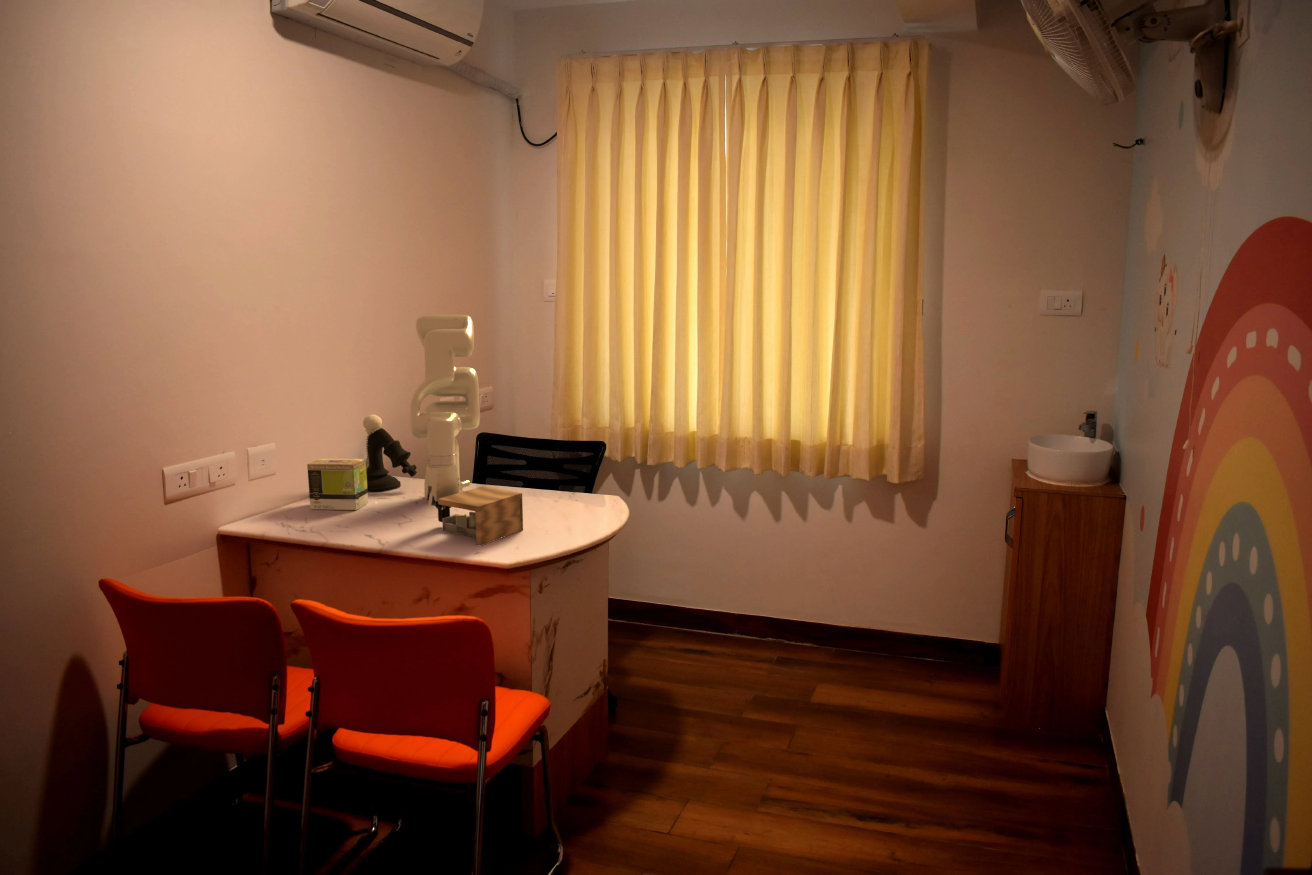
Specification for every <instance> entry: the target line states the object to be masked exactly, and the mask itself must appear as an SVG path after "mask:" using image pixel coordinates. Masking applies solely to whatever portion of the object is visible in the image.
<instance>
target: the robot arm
mask: <svg viewBox="0 0 1312 875" xmlns="http://www.w3.org/2000/svg"><path fill="white" fill-rule="evenodd" d="M474 327H475V326H474V322H473V319H472V318H471V317H470V315H467V314H427V315H421V316H419V317H417V319H416V321H415V330H416V332H417V336H418V339H419V340H420V342H421V344H422V346H423V348H424V352H423V353H424V380H423V381H422V383H421V384H419V385H418V387H417V388H416V390H415V391H414V393H413V394H412V398H411V400H410V406H409V407H410V409H409V410H410V430H411V434H412V435H413V436H414V437H415V438H417V439H427V457H428V458H427V462H428V465H426V469H425V474H424V490H423V491H424V499H425V500H428V506H433V507H435V509H437V519H438V522H439V523H442V518H446V517H449V516H451V508H452V507H450V506H445V505H440V504H438V499H440V498H443V497H447V496H450V495H454V494H457V493H461V492H464V491H465V490H463V488H466V487H469V486H470V485H471V482H470V480H469V479H467V480H464V481H463V480H461V479H460V454H459V450H460V448H459V442H458V440H457V438H456V437H457V436H458V435H459V433H460V432H461V431H462V430H463V431H464V430H474V429H476V428H478V427H479V425H480V421H481V409H480V408H481V407H480V405H481V404H480V388H479V386H480V384H479V375H478V373H477V370H476V369H474V368H472V367H469V366H455V361H454V360H455V358H467V357H468V358H469V357H471V356H472V354H473V353H474V349H475V328H474ZM429 395H431V396H433V397H436V398H437V397H438V398H453V397H455V398H458V397H460V398H461V397H462V398H463V400H438V401H437V400H436V401H432V402H429V403H428V404H427V405H426V406H425V407H424V412H421V404H422V402H423V400H424V399H425V398H427V397H428V396H429ZM464 399H465V400H464Z"/></svg>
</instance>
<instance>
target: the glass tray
mask: <svg viewBox="0 0 1312 875" xmlns="http://www.w3.org/2000/svg"><path fill="white" fill-rule="evenodd" d="M468 513H469V514H468V515H467V513H462V512H460V513H455V514H453V515H450V516H449V517H446V518H442V522H441V523H442V532H443V531H445V532H449V533H453V534H456V535H457V534H458V535H463V536H467V537H472V538H476V517H475V511H469V512H468Z"/></svg>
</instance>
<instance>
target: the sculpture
mask: <svg viewBox="0 0 1312 875" xmlns="http://www.w3.org/2000/svg"><path fill="white" fill-rule="evenodd" d="M362 425H363V427H364V429H365V432H366V433H367V436H366V444H365V445H366V446H365V447H366V448H365V450H366V455H367V456H366V457H367V461H366V475H367V489H368V493H383V492H388V491H393V490H396V489H399V488H400V487H401V481H400V480H399V479H398V478H396V476H392V475H390V471H389V470H387V469H386V468H385V465H384V458H383V455H384V456H386V457H387V458H389V460H390V462H391V465H392V466H391V467H392V468H393V469H396V468H399V467H402V469H401V473H402V474H408V475H409V476H410V477H411V478H413V477H414V476H416V475H417V473H418V471H417V466H416V465H415V464H412V465H411V464H410V462H408V460H409V459H410V457H411V454H412V453H411V452H410V451H407V450H405V449H404V448H403V446H402V445H401V443H400V442H401V441H400V440H398V439H397V440H395V439H394V438H393V436H392V435H391V434H390V433H389V432H387V430H386V429H385V428H384V427H382V425H383V420H382V418H381V417H380V416H379V415H377V414H368V415H367V416H365V417H364V419H363V421H362Z"/></svg>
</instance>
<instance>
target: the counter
mask: <svg viewBox="0 0 1312 875" xmlns="http://www.w3.org/2000/svg"><path fill="white" fill-rule="evenodd" d="M463 491H464V492H461V493H457V494H454V495H450V496H447V497H443V498H440V499H438V504H440V505H445V506H450V507H451V508H456V509H462V510H466V511H470V512H475V517H476V537H475V540H476V544H475V545H476V546H478V545H481V546H484V545H486V543H487V544H489V543H491V541H492V542H494V541H493V540H495V541H497V540H499V538H500V539H502V538H501V537H503V538H505V537H504V536H506V537H508V536H511V535H513V534H512V533H514V534H516V533H515V532H517V533H519V532H521V531H520V530H522V531H523V530H524V514H523V513H524V512H523V507H524V506H523V492H518V491H513V490H508V489H507V490H506V489H502V488H496V487H490V486H485V485H483V486H478V487H475V488H472V489H468V490H463ZM518 531H519V532H518ZM510 534H511V535H510ZM507 535H508V536H507ZM496 539H497V540H496ZM488 542H489V543H488ZM483 544H484V545H483Z"/></svg>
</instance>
